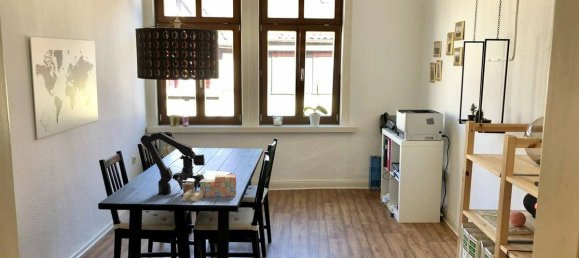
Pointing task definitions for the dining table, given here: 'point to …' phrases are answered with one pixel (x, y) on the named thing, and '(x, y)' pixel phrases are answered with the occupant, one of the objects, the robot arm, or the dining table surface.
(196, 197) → the birch block
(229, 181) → the stack of blocks
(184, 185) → the walnut cube
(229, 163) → the dining table surface
